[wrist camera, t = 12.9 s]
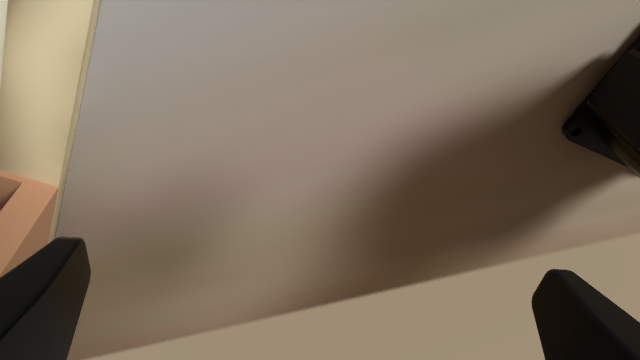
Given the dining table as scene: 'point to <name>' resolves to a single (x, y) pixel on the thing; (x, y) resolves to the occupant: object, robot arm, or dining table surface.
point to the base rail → (44, 87)
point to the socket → (23, 218)
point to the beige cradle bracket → (2, 30)
